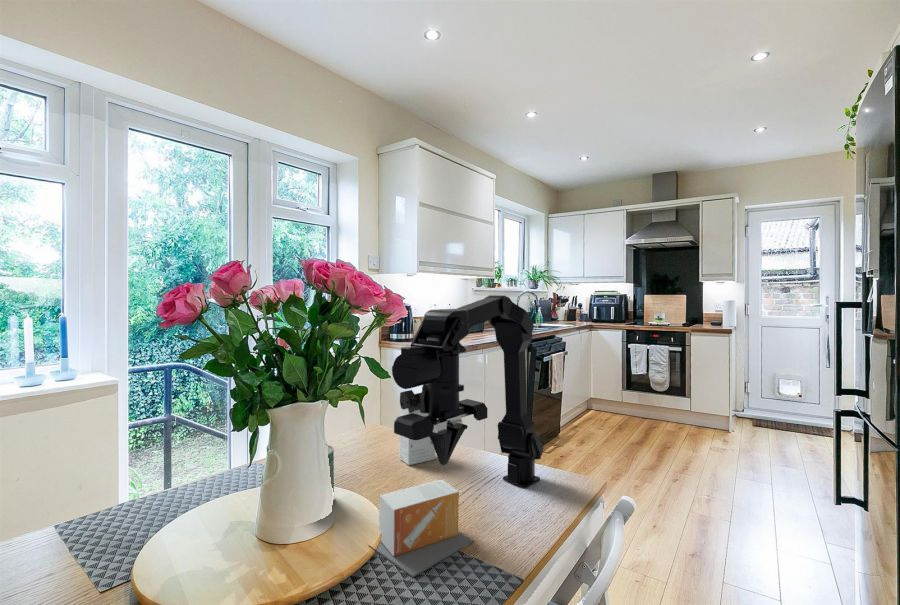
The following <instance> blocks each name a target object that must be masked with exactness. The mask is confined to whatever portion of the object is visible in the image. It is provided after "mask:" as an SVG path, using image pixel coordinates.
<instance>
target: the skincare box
mask: <svg viewBox="0 0 900 605" xmlns="http://www.w3.org/2000/svg"><path fill="white" fill-rule="evenodd" d="M412 413H414V414H417V415H421V416H424V417H426V416H428V413H425V414H424V413H421V412H420V410H416V411H414V412H412ZM407 414H411V413H409V411H408V408H407V409H402V408H401V405H400V404H399V417H400V416H403V415H407ZM398 442H399V446H398V447H399V448H398V449H399V450H398V451H399V452H398V455H399V456H398V459H400V460H401V461H402V462H403V463H404V464H406V465H407V466H412V465H417V464H420V463H424V462H430V461H434V459H436V451H435V449H434V446H433V443H432V441H431V439H430V437H427V438H423V439H420V440H411V439H409V438H406V437H403V436H401V435H399V441H398Z"/></svg>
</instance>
